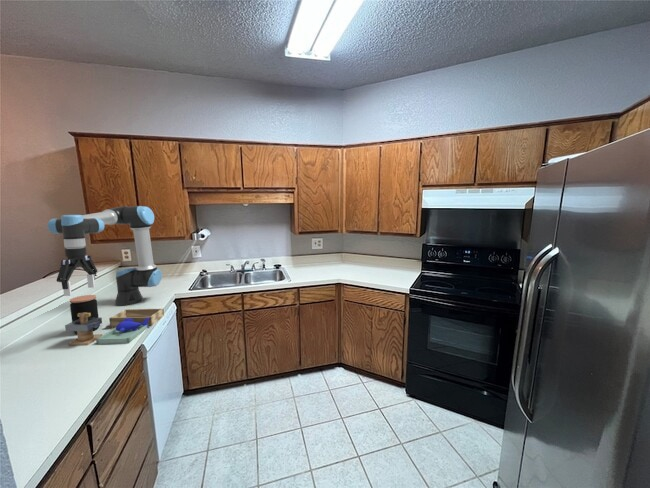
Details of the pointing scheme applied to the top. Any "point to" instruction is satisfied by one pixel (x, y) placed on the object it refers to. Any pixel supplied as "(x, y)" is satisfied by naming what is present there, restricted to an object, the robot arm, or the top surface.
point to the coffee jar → (84, 307)
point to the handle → (84, 332)
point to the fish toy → (130, 325)
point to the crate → (137, 316)
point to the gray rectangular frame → (84, 324)
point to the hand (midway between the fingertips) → (80, 291)
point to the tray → (120, 336)
